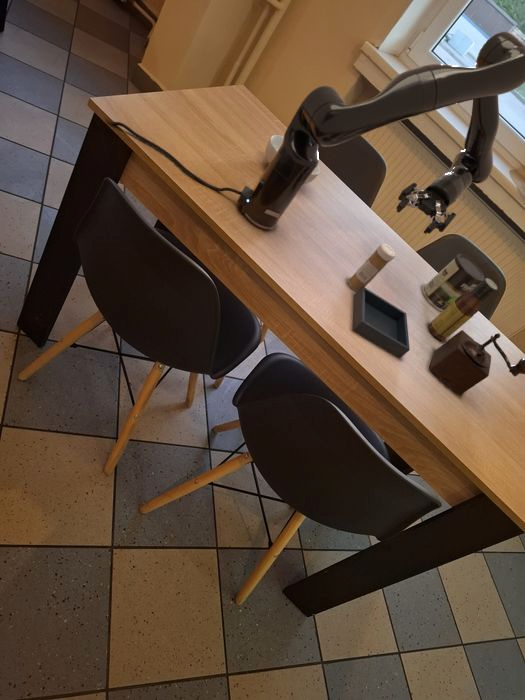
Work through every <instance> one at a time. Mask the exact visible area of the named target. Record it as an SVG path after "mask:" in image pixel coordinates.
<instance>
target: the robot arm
mask: <svg viewBox="0 0 525 700" xmlns="http://www.w3.org/2000/svg"><path fill="white" fill-rule="evenodd" d="M524 84H525V45H524V44H523V42H521V41H520V40H519V38H518V37H517V36H515V35H514V34H513V33H511V32H509V31H501V32H497V33H495V34H494V35H492V36H491V37H489V38H488V39H486V41H485V43H483V44H482V46H481V48H480V49H479V52H478V53H477V57H476V61H475V67H469V66H468V67H466V66H458V65H452V64H442V63H435V64H434V63H431V64H426V65H422V66H419V67H418V66H417V67H415V68H411V69H408V70H406V71H403V72H401V73H399V74H397V75H396V76H395V77H393V78H392V80H391V81H389V82H388V83H387V84H386V85H385V86H384V88H383V89H382V90H381V91H380V92H379V93H378V94H376V95H375V96H374V97H372V98H369V99H367V100H363V101H361V102H357V103H352V104H347V103H346V101H345V100H344V99H343V98H342V95H341V94H340V93H339V92H338V91H337V90H336V88H334V87H333V86H331V85H321V86H317V87H315V88H314V89H313V90H311V91H310V92H309V93H308V94H307V95H306V96H305V97H304V99H303V100H302V101H301V103H300V105H299V106H298V108H297V109H296V111H295V114H294V116H293V117H292V118H291V120H290V122H289V124H288V126H287V128H286V130H285V132H284V135H283V136H284V139H283V143H282V145H281V146H280V148H279V150H278V151H277V153H276V154H275V156H274V158H273V159H272V161H271V162H270V164H269V163H268V165H267V167H266V169H265V170H264V171H263V172H262V173H261V174H260V176H259V178H258V180H257V181H256V183H255V184H254V186H253V187H252V188H250V187H248V186H247V185H245V186H244V187H243V189H242V191H240V190H237V189H235V188H231V187H216V186H214V185H211V184H209V183H208V182H206V181H204V180H203V179H201V178H200V177H199V176H197V175H196V174H194V173H193V172H191V170H189V169H188V168H186V167H185V166H184V165H183V164H182V163H181V162H180V161H179V160H178V159H177V158H176V157H175V156H173V155H172V154H171V153H170V152H168V151H167V150H166V149H164V148H162V146H159V145H158V144H156V143H155V142H153V141H150V140H149V139H147V138H145V137H144V136H142V135H140V134H138V133H137V132H136V131H134V130H133V129H132V128H131V127H130V126H128V125H127V124H125V123H123V122H120V121H112V122H109V124H110V125H111V126H120V127H122V128H124V129H125V130H127V131H128V132H129V133H130V134H132V135H133V136H134V137H136V138H137V139H139V140H141V141H142V142H144V143H146V144H148V145H150V146H152V147H153V148H155V149H157V150H158V151H159V152H161V153H163V154H164V155H165V156H167V157H168V158H170V159H171V160H172V161H173V162H174V163H175V164H176V165H177V166H178V167H179V168H181V170H183V172H185V173H186V174H187V175H189V176H190V177H192V178H193V179H195V180H196V181H198V182H199V183H201V184H202V185H203V186H205V187H206V188H209V189H211V190H213V191H217V192H225V191H227V192H231V193H235V194H237V195H239V196H238V199H237V203H238V204H240V205H241V206H242V207H241V210H240V213H241V214H243V215H244V217H245V218H246V219H247V220H248V221H249V222H250V223H251V224H253V225H254V226H255V227H258V228H260V229H262V230H266V231H270V230H273V229H274V228H275V227H276V225H277V224H278V222H279V221H280V219H281V218H282V216H283V215H284V213H285V212H286V211H287V210H288V208H289V207H290V205H291V203H292V202H293V201H294V200H295V198H296V196H297V195H298V194H299V192H300V191H301V190H302V188H303V187H304V185H306V184H305V182H306V181H307V179H308V178H309V177H310V175H311V174H312V172H313V171H314V170H315V168H316V167H317V165H319V161H320V156H319V155H320V154H319V146H320V147H324V148H325V147H326V148H327V147H329V148H330V147H335V146H337V145H341V144H343V143H346V142H349V141H351V140H353V139H355V138H358V137H360V136H363V135H365V134H367V133H369V132H372V131H374V130H377V129H380V128H383V127H386V126H389V125H391V124H392V125H393V124H395V123H397V122H401V121H404V120H407V119H411V118H416V117H418V116H421V115H425V114H428V113H431V112H434V111H437V110H440V109H443V108H446V107H450V106H453V105H458V104H461V103H465V102H469V101H472V108H471V115H470V120H469V124H468V128H467V132H466V135H465V140H464V143H463V149H464V150H460V151H459V152H457V154H456V155H455V156H454V159H453V161H452V164H451V166H450V167H449V169H448V170H447V171H445V173H443V174H441V175H440V176H438V178H436V179H435V180H434V181H433V182H431V183H430V184H429V185H428V186H427V187H426V188H424V189H421V190H420V189H418V187H417V186H418V184H417V183H416V182H412V183H411V184H409V185H408V186H407V187H405V188H404V189H402V190H401V192H400V194H399V196H397V199H398V201H400V202H399V203H398V204H397V206H396V207H395V208H396V212H397V213H400V212H402V211H403V210H404V209H405V208H406V207H410V208H412V209H415V208H416V209H418V210H419V211H421V212H423V214H424V215H426V216H428V218H429V219H428V220H429V224H428V225H427V226H426V228H425V229H424V231H423V234H425V235H427V234H431V233H432V232H433V231H435V230H438V231H439V233H443V232H444V231H445V230H446V229H447V227H448V226H449V225H450V224H451V223H452V221H453V220H454V219H455V218H456V216H457V213H455V212H449V211H447V209H448V208H450V206H452V205H453V204H454V203H455V202H456V201H457V200H458V199H459V198H460V196H461V195H462V194H463V193H464V192H465V191H466V190H467V189H468V188H469V187H470V186H471V185H472V183H473V184H476V185H479V184H482V183H485V181H487V180H488V179H489V177H490V176H491V174H492V171H493V167H494V155H493V154H494V153H493V152H494V151H493V146H494V143H495V140H496V137H497V134H498V130H499V126H500V105H499V96H501V95H504V94H508V93H510V92H513V91H514V90H516V89H518V88H520V87H522V86H523V85H524ZM442 216H443V221H442Z"/></svg>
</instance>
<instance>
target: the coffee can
mask: <svg viewBox="0 0 525 700" xmlns="http://www.w3.org/2000/svg"><path fill="white" fill-rule="evenodd" d="M484 279H486V278H485V275H484V273H483V271H482V270H481V269H480V267H479V266H478V265H477V264H476V263H475V262H474V260H473V259H471V258H469V257H468V256H466V255H464V254H462V253H457V255H456V256H455V257H454V258H453V259H452V260H451V261H450V262H449V263H448V264H446V265H445V266H444V267H443V268H442V269H441V270H440V271H439V272H438V273H437V274H436V275H434V276H433V277H432V278H431V279H430V280H429V281H427V283H426V284H425V285H424V286H422V289H421V291H422V294H423V297H424V298H425V299H426V300H427V302H428V303H429V304H430V305H431V306H432V307H433V308H434V309H436V310H438V311H439V312H443V311H444V310H445V309H446V308H447V307H448V306H449V305H450V304H451V303H452V302H454V301H455V300H456V299H457V298H458V297H460V296H461V295H463V294H465V293H468V292H470V291H472V290H474V289H475V288H476V287H477V286H479V285H480V284H481V282H482V281H483V280H484Z"/></svg>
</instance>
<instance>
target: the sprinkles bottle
mask: <svg viewBox="0 0 525 700" xmlns="http://www.w3.org/2000/svg"><path fill="white" fill-rule="evenodd" d="M395 257H396V252H395V250H394V248H392V246H390V245H389V244H387V243H384V242H382V243H381V244H380V245H379V246H378V247H377V248H376V249H375V251H374V252H373V253H372V254H371V255H370V256H369V257H368V258H367V259H366V260H365V262H364V263H362V265H361V266H360V267H359V268H358V269H357V270H356V272H354V274H353V275H352V276H351V277H350V278H348V280H347V283H348V286H349V287H350V288H351V289H352V290H353V291H354V292H357V291H358V290H359V289H360V288H361V287H362V286H363V287H365V288H366V286H367V285H368V284H370V283H371V282H372V281H373V280H374V279H375V278H376V277H377V275H378V274H379V273H380V272H381V271H382V270H384V268H385V267H386V266H387V264H388V263H390V262H391V261H392V260H393V259H395Z"/></svg>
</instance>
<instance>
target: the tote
mask: <svg viewBox="0 0 525 700" xmlns="http://www.w3.org/2000/svg"><path fill="white" fill-rule="evenodd" d="M352 307H353V309H352V332H354V333H356V334H357V335H359V336H361V337H363V338H364V339H366V340H368V341H369V342H371V343H372V344H374V345H376V346H378V348H381V349H382V350H385V351H386V352H388V353H390V354H391V355H393V356H395V357H397V358H398V359H401V358H403V356H405V355H406V354H407V353H408V352H410V351H411V350H410V338H409V327H408V326H409V325H408V317H407V313H406V312H405V311H404V310H402V309H400V308H399V307H397V306H395V305H394V304H392V303H390V302H389V301H388V300H386V299H384V298H383V297H381V296H379V295H378V294H376V293H374V292H373V291H371V289H368V288H367V287H366V286H365V287H363V286H362V287H361V288H360V289H359V290H358V291H355V293H354V294H353V305H352Z"/></svg>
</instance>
